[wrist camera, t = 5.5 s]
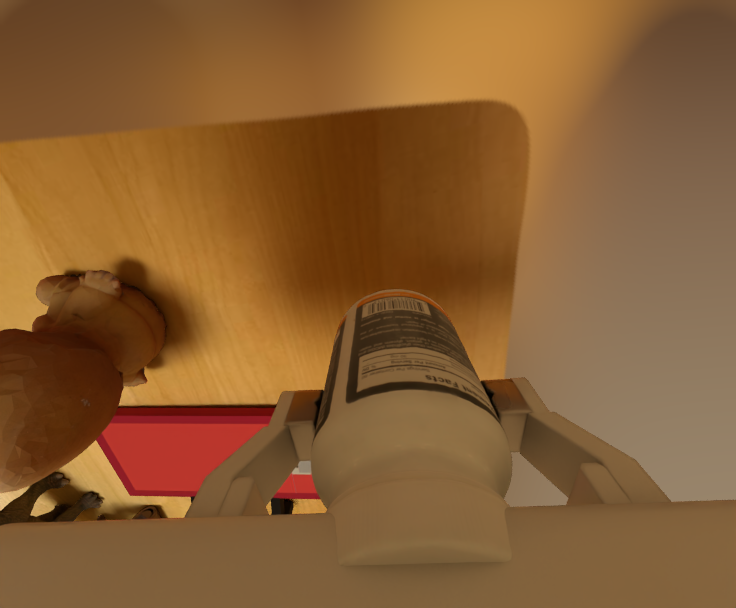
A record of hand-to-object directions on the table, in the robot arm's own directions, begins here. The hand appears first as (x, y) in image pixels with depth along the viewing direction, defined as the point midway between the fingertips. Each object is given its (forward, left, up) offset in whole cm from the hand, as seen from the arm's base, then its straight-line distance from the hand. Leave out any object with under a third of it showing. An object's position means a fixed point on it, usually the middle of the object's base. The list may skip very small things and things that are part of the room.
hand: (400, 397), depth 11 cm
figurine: (-11, -17, -11) cm, 23 cm away
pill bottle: (0, 0, -4) cm, 4 cm away
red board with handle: (+7, -21, -11) cm, 25 cm away
